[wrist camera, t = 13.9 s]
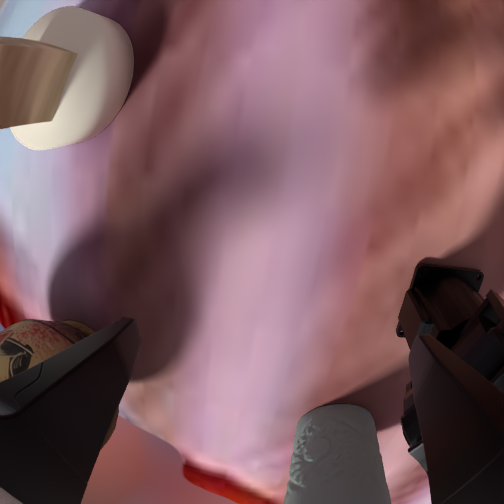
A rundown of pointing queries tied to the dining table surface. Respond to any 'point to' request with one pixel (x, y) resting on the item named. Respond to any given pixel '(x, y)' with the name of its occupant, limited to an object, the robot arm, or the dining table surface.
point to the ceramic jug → (40, 347)
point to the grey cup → (337, 459)
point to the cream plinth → (82, 77)
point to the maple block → (31, 80)
